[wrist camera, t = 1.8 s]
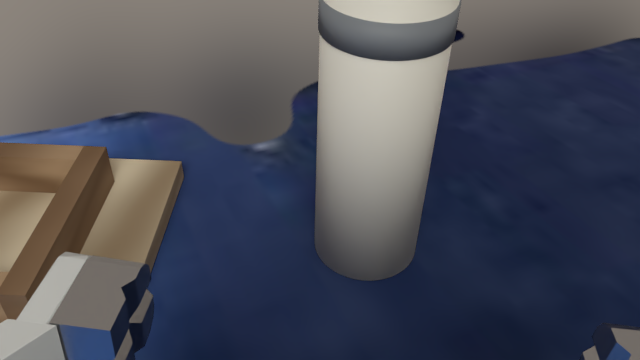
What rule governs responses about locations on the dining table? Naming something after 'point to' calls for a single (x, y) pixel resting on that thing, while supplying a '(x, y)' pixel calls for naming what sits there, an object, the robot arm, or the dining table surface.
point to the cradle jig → (76, 211)
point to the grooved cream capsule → (377, 128)
